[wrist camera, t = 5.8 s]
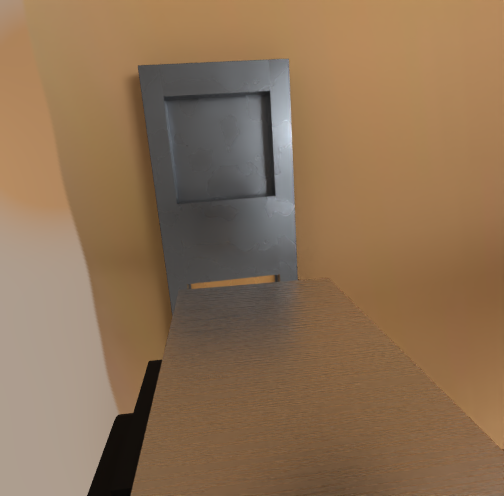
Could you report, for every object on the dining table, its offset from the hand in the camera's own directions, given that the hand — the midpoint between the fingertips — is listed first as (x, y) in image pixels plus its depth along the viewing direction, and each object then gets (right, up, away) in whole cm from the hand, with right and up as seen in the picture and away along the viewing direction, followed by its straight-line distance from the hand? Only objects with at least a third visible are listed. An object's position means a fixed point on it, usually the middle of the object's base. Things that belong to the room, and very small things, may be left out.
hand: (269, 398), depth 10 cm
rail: (-2, +5, +16) cm, 17 cm away
